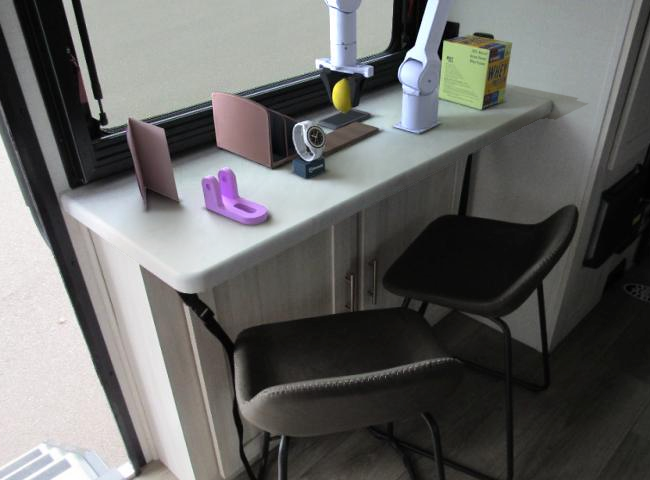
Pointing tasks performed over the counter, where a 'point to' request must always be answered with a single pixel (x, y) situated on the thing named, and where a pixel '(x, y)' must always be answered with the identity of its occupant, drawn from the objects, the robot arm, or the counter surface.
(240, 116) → the letter holder
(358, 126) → the back board
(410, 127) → the robot arm
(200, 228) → the counter surface
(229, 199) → the bracket
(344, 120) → the cell phone
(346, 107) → the lemon
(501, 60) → the protein box
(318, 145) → the watch
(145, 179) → the greeting card
